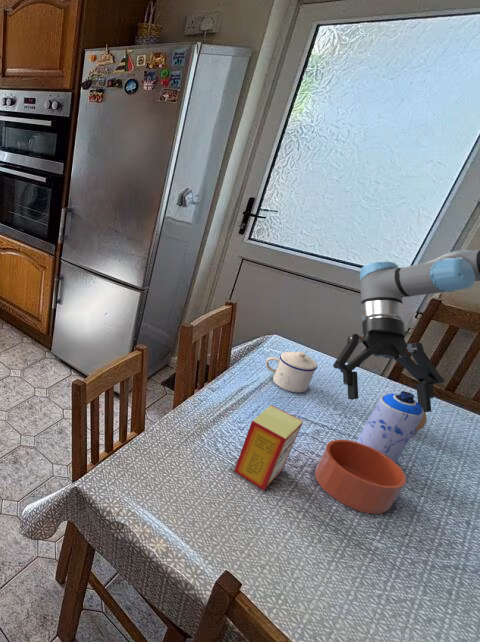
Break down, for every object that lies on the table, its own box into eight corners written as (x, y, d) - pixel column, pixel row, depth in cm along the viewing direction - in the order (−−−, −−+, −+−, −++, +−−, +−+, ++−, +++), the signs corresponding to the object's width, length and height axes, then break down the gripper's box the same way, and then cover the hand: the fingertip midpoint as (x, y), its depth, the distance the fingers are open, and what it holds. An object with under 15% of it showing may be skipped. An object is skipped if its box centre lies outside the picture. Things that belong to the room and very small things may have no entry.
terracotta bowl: (388, 483, 95) (403, 458, 91) (392, 525, 86) (409, 499, 82) (316, 455, 102) (327, 431, 99) (312, 490, 93) (325, 465, 90)
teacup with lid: (309, 383, 128) (322, 351, 123) (306, 397, 121) (319, 365, 116) (263, 368, 135) (274, 337, 130) (258, 381, 129) (269, 350, 124)
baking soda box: (252, 453, 103) (271, 403, 97) (282, 470, 98) (304, 419, 92) (233, 471, 99) (252, 420, 92) (263, 490, 94) (285, 438, 87)
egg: (423, 438, 107) (437, 415, 103) (398, 434, 108) (411, 411, 105) (411, 425, 111) (424, 402, 108) (387, 421, 113) (399, 398, 109)
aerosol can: (393, 456, 102) (430, 392, 93) (394, 477, 96) (434, 411, 88) (351, 441, 106) (383, 378, 98) (350, 459, 101) (384, 395, 92)
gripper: (434, 333, 104) (444, 418, 98) (315, 317, 112) (317, 395, 106) (459, 325, 97) (470, 416, 91) (330, 309, 105) (333, 391, 99)
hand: (388, 405), depth 98 cm, fingers open, 13 cm apart
